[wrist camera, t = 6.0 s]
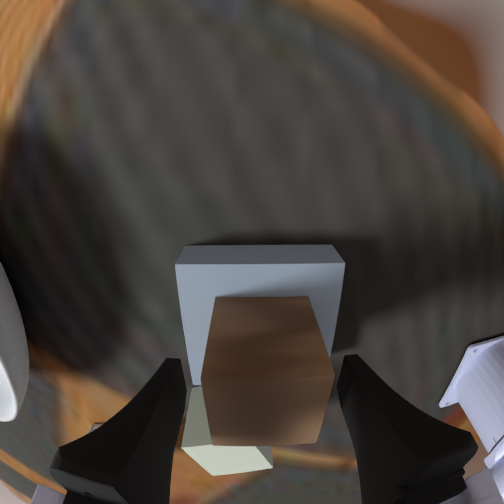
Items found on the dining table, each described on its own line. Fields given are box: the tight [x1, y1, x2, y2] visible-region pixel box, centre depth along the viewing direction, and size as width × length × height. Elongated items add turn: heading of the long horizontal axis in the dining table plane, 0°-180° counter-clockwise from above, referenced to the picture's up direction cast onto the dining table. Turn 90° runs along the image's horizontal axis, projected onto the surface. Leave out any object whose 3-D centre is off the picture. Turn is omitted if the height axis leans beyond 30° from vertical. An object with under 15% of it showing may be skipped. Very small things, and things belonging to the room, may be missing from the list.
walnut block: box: [200, 296, 335, 446], centre depth 12 cm, size 4×4×6 cm
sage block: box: [181, 386, 273, 476], centre depth 18 cm, size 4×4×6 cm
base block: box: [175, 245, 345, 385], centre depth 16 cm, size 8×8×3 cm
